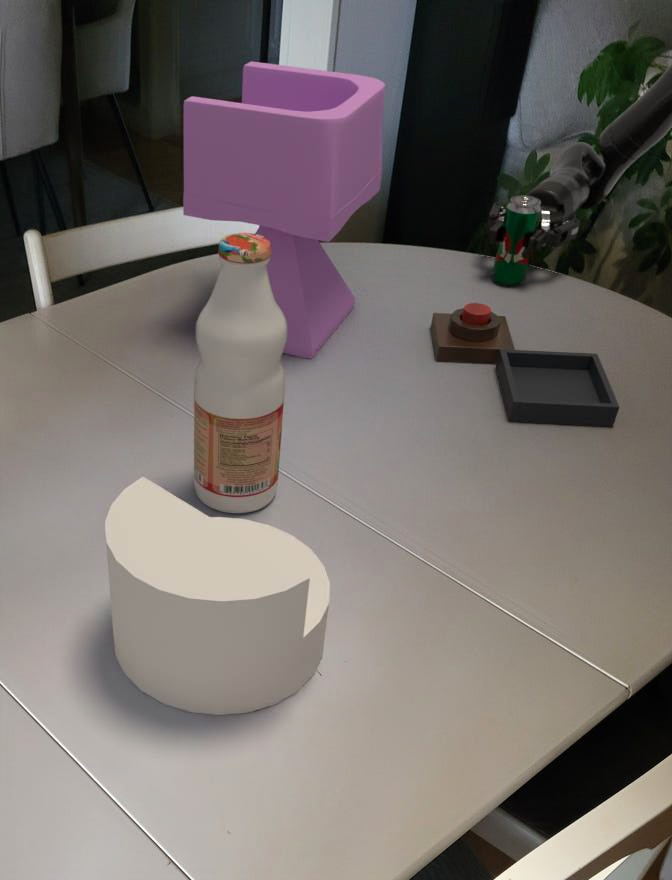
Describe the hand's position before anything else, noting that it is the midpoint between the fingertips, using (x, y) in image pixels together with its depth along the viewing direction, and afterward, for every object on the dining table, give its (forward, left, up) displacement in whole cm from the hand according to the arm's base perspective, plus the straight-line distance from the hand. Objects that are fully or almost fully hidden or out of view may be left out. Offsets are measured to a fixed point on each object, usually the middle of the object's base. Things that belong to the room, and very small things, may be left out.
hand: (511, 241), depth 144 cm
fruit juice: (+37, +58, -7) cm, 69 cm away
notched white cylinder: (+37, +82, -7) cm, 90 cm away
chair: (+34, +15, -7) cm, 38 cm away
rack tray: (-2, +33, -7) cm, 33 cm away
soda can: (-1, -2, -7) cm, 8 cm away
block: (+7, +20, -7) cm, 22 cm away
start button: (+7, +20, -3) cm, 21 cm away
